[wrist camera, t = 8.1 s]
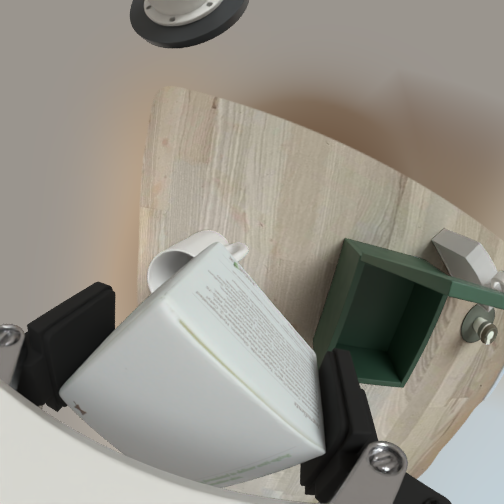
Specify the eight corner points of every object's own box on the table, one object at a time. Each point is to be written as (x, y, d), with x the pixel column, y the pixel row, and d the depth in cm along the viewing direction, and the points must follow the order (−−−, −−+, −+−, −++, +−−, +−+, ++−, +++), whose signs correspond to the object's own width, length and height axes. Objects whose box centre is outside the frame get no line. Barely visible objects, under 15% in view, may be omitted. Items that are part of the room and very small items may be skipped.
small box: (214, 413, 12) (184, 500, 7) (121, 322, 11) (49, 390, 6) (322, 353, 10) (335, 457, 6) (218, 234, 10) (155, 287, 5)
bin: (387, 353, 40) (403, 387, 32) (312, 340, 41) (316, 376, 33) (424, 259, 36) (454, 280, 28) (344, 237, 37) (360, 255, 28)
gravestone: (456, 287, 36) (524, 344, 19) (431, 239, 35) (509, 283, 18) (468, 276, 36) (539, 327, 18) (444, 228, 35) (525, 263, 17)
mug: (195, 281, 41) (162, 319, 29) (178, 236, 40) (137, 260, 28) (263, 261, 39) (253, 296, 27) (246, 212, 38) (228, 228, 26)
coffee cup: (508, 289, 35) (523, 300, 30) (488, 350, 38) (501, 363, 33) (460, 290, 36) (476, 302, 32) (440, 355, 39) (452, 372, 35)
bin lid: (557, 322, 11) (560, 311, 11) (448, 296, 12) (452, 280, 12) (454, 284, 27) (456, 277, 27) (360, 260, 28) (362, 252, 28)
